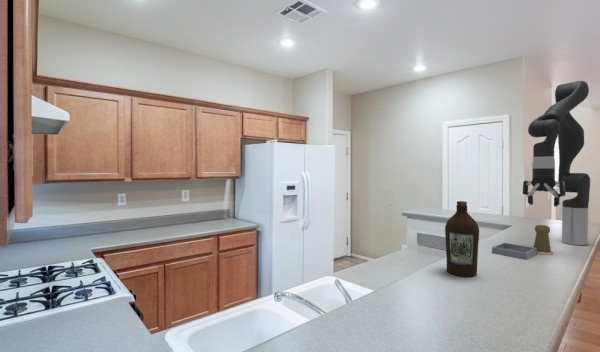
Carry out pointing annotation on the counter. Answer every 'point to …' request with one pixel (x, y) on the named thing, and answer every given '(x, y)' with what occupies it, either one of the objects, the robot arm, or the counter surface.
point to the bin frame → (504, 247)
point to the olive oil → (462, 242)
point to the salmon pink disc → (545, 253)
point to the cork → (542, 239)
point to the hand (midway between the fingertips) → (543, 205)
